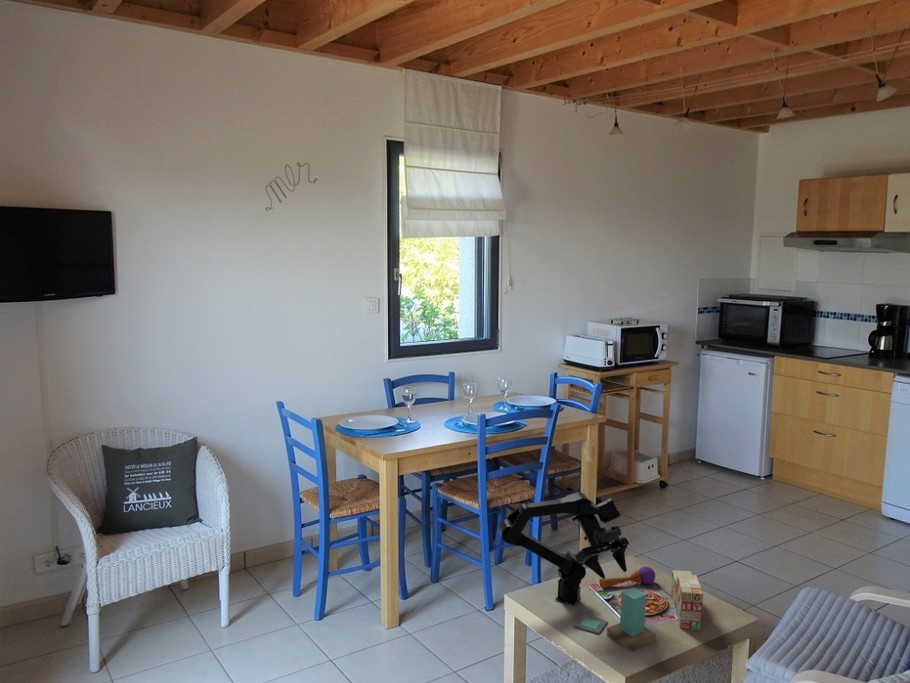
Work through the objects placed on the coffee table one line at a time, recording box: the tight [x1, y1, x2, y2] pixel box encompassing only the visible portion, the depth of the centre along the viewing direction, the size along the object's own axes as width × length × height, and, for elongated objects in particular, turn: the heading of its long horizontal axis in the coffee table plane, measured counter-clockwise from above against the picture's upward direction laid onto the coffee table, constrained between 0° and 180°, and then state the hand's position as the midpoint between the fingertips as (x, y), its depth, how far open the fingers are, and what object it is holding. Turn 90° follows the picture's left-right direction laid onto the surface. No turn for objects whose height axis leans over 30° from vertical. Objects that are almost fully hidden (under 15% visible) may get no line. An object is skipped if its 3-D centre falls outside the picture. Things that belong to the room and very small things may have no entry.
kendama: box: [598, 565, 656, 589], centre depth 250 cm, size 6×6×20 cm
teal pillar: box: [619, 587, 647, 637], centre depth 215 cm, size 5×5×12 cm
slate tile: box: [573, 614, 608, 635], centre depth 224 cm, size 8×8×1 cm
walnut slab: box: [606, 622, 657, 652], centre depth 216 cm, size 10×10×3 cm
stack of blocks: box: [670, 570, 704, 631], centre depth 232 cm, size 21×6×12 cm, turn 171°
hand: (615, 575), depth 228 cm, fingers open, 9 cm apart
